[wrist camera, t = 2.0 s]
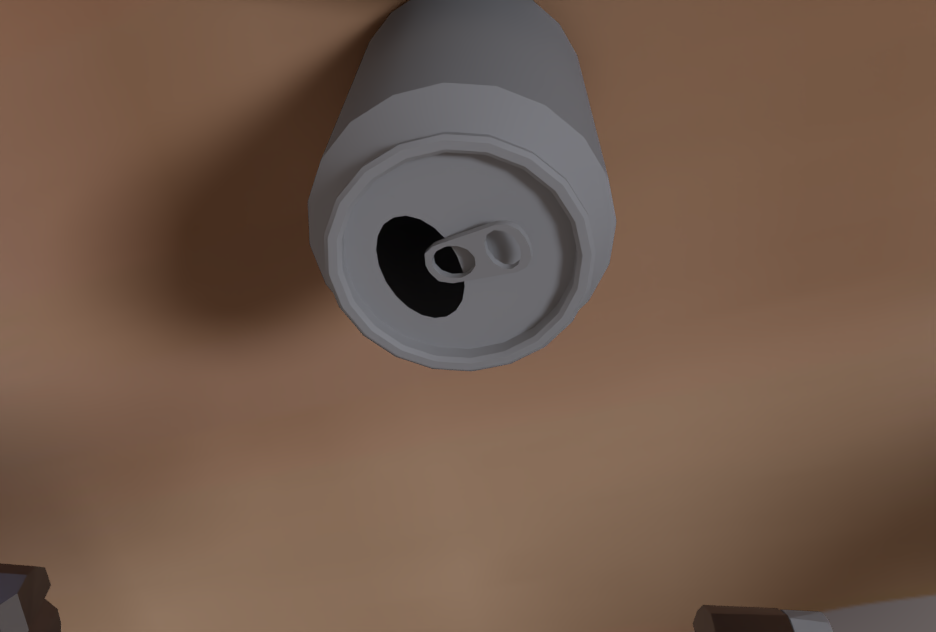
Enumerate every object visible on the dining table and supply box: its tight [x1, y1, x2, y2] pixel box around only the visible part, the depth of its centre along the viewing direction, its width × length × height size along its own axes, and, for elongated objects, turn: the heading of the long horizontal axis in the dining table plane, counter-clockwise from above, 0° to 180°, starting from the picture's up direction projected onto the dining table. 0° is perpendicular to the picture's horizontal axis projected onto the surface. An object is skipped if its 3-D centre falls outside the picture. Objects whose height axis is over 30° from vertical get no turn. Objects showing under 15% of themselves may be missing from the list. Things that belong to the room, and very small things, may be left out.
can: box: [308, 0, 616, 371], centre depth 25 cm, size 8×8×12 cm
